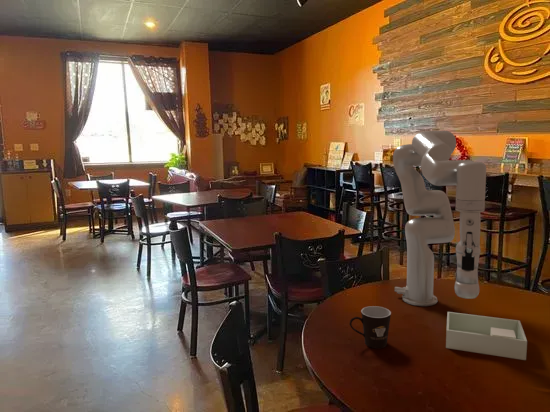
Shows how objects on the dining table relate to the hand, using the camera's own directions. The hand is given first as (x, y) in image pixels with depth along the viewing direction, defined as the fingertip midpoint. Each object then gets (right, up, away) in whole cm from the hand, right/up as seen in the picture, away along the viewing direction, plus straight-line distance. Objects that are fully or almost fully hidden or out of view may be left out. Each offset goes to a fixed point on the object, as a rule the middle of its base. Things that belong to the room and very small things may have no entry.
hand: (467, 266), depth 121 cm
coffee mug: (-27, -24, +5) cm, 37 cm away
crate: (+5, -23, +2) cm, 24 cm away
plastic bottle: (0, -10, +1) cm, 10 cm away
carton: (+10, -23, -1) cm, 25 cm away
